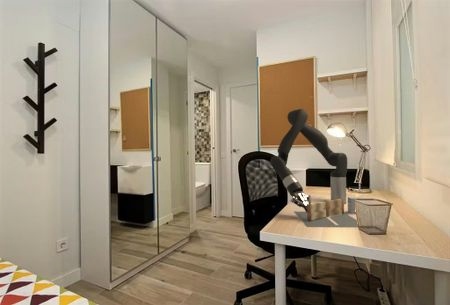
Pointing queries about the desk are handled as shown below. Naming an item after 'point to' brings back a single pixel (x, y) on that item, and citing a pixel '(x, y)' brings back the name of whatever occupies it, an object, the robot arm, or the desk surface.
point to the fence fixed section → (334, 207)
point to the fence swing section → (316, 211)
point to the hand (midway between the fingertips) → (310, 212)
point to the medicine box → (352, 204)
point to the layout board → (329, 221)
